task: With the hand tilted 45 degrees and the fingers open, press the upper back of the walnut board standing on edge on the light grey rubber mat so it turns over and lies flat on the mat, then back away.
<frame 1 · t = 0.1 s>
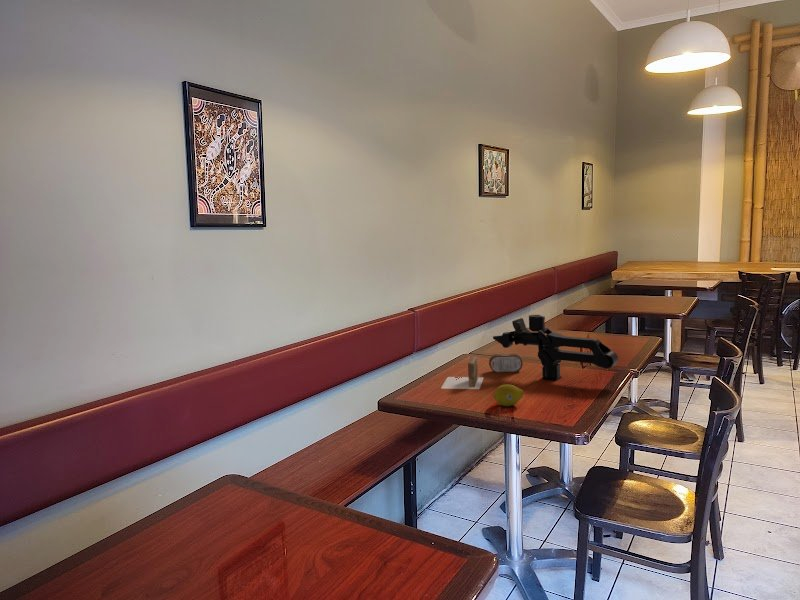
hand: (498, 335, 261), 17 cm above the table, tool horizontal, fingers open, 9 cm apart
tin: (506, 372, 261), on the table
board: (473, 382, 245), resting on mat
lemon: (508, 406, 214), on the table
mat: (462, 383, 247), on the table
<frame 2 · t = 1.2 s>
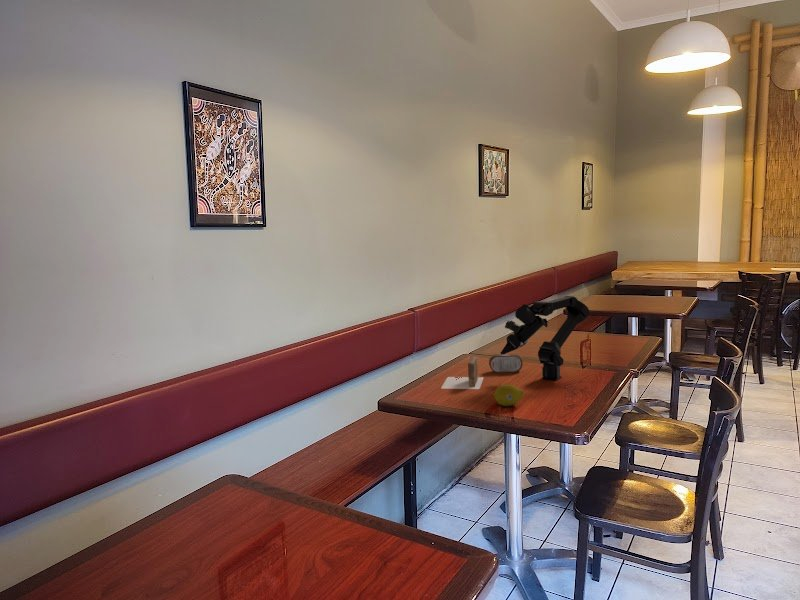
hand: (503, 353, 244), 13 cm above the table, tool tilted 45°, fingers open, 9 cm apart
nothing on the table moved.
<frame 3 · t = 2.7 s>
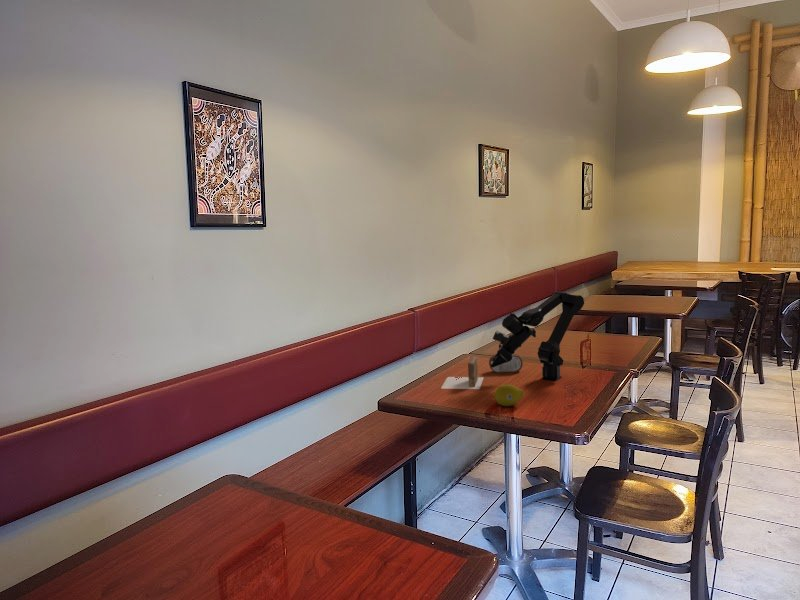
hand: (492, 363, 242), 9 cm above the table, tool tilted 45°, fingers open, 9 cm apart
nothing on the table moved.
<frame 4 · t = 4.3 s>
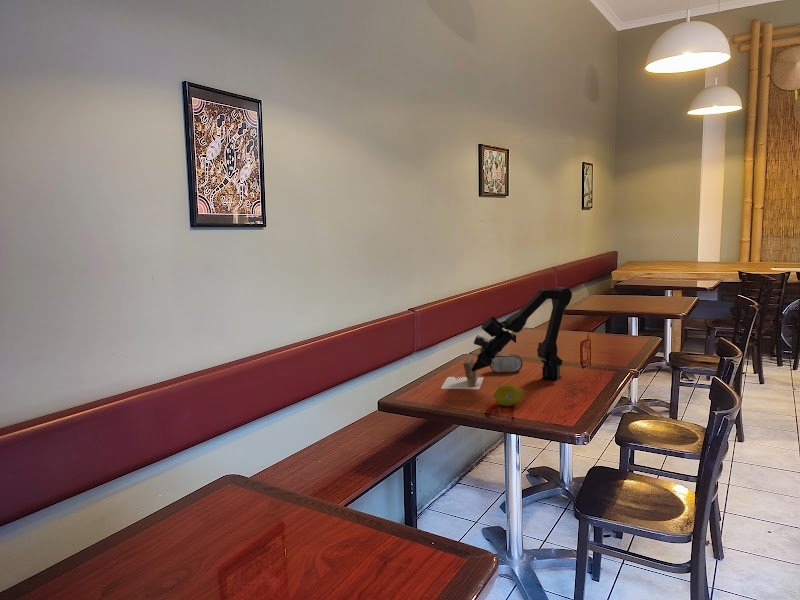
hand: (473, 368, 244), 7 cm above the table, tool tilted 45°, fingers open, 9 cm apart
board: (473, 382, 245), point 1 cm above the table, tilted 11°, touching mat
everything else where it was.
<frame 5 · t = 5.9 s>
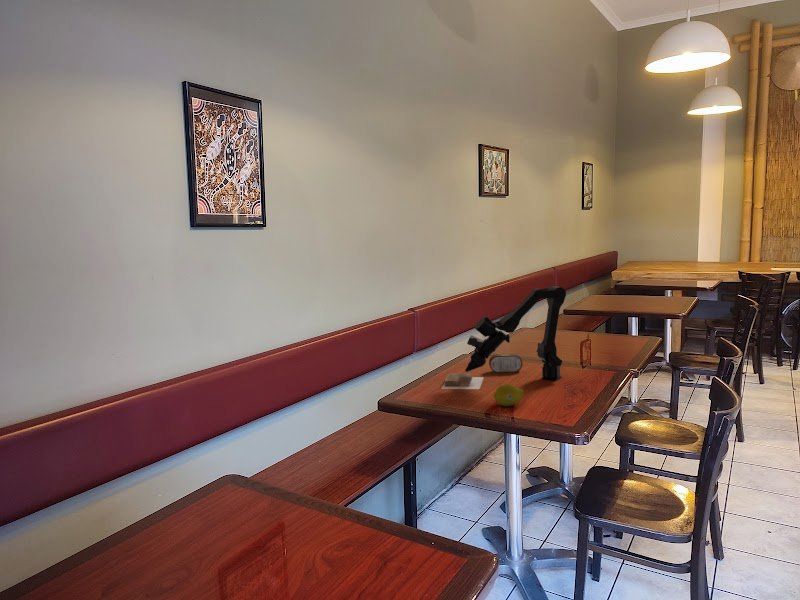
hand: (467, 368, 245), 7 cm above the table, tool tilted 45°, fingers open, 9 cm apart
board: (470, 380, 246), point 1 cm above the table, tilted 90°, touching mat
everything else where it was.
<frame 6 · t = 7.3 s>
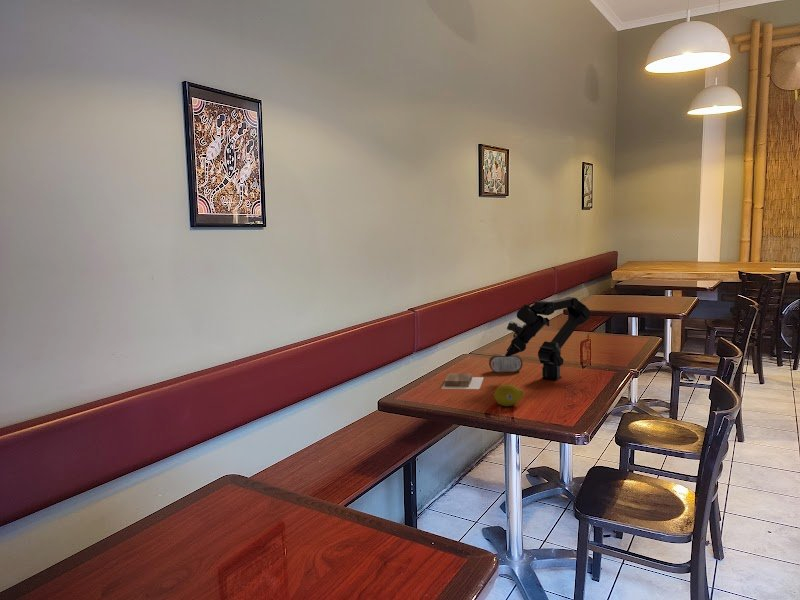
hand: (506, 353, 245), 12 cm above the table, tool tilted 45°, fingers open, 9 cm apart
nothing on the table moved.
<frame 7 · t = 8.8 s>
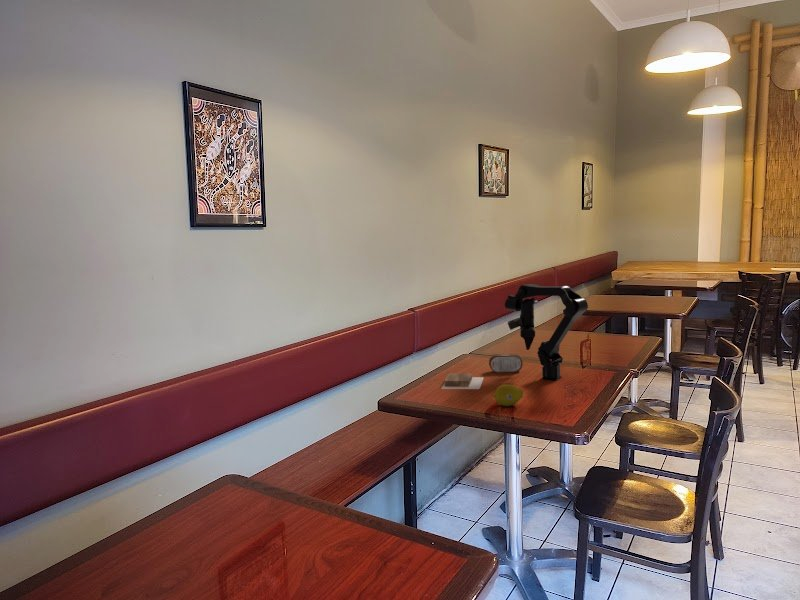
hand: (527, 346, 256), 12 cm above the table, tool pointing down, fingers open, 9 cm apart
nothing on the table moved.
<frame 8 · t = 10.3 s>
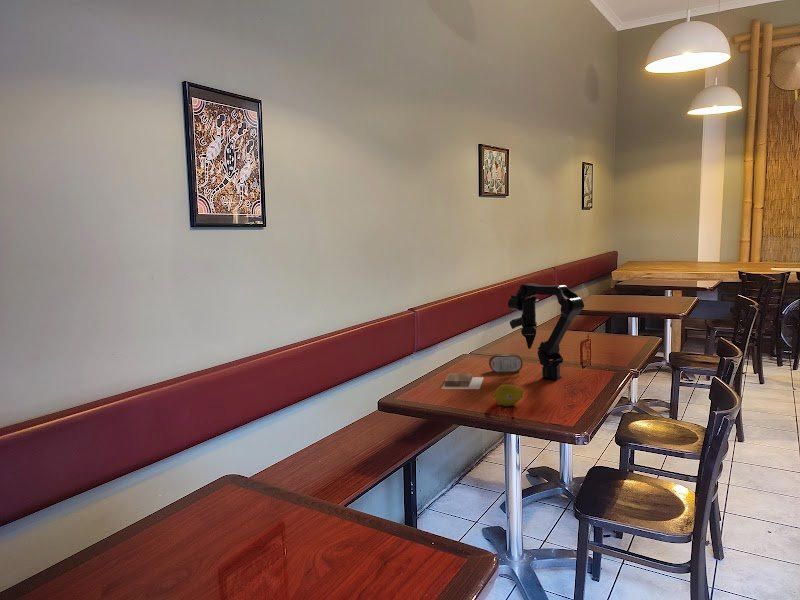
hand: (529, 346, 257), 12 cm above the table, tool pointing down, fingers open, 9 cm apart
nothing on the table moved.
at the end: board tilted 90°; board touching mat; the gripper is holding nothing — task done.
